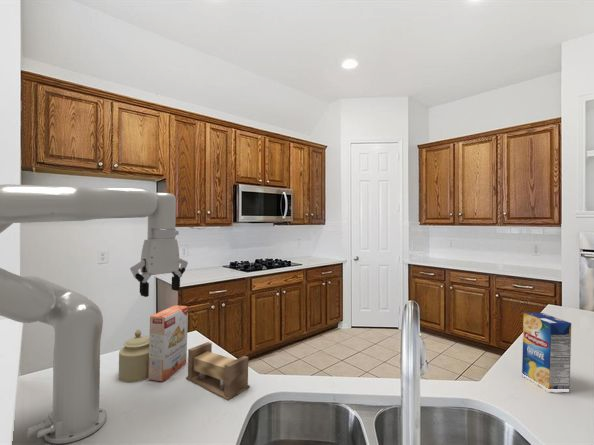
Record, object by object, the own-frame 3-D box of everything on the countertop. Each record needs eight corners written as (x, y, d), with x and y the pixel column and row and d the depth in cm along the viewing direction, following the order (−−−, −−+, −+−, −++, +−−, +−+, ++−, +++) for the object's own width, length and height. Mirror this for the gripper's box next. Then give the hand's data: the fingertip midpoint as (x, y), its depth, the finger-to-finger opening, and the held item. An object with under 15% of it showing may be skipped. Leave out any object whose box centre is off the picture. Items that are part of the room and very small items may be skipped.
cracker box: (164, 382, 99) (165, 317, 99) (147, 380, 100) (148, 315, 100) (187, 363, 113) (189, 305, 113) (172, 361, 114) (174, 304, 114)
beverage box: (549, 393, 98) (550, 323, 97) (521, 375, 109) (523, 312, 108) (569, 393, 98) (571, 323, 98) (540, 375, 109) (542, 312, 109)
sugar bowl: (129, 362, 113) (130, 320, 113) (162, 360, 115) (162, 319, 115) (112, 383, 98) (113, 336, 98) (150, 381, 100) (150, 334, 100)
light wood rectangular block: (193, 370, 100) (193, 357, 100) (207, 363, 106) (207, 351, 106) (226, 382, 94) (227, 368, 94) (239, 373, 99) (240, 361, 99)
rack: (227, 400, 90) (228, 367, 90) (185, 378, 102) (186, 349, 102) (249, 387, 97) (250, 356, 97) (208, 368, 109) (208, 341, 109)
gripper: (180, 233, 101) (179, 286, 101) (125, 235, 87) (124, 296, 87) (194, 234, 97) (193, 289, 97) (138, 236, 83) (137, 301, 83)
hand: (160, 293), depth 92 cm, fingers open, 9 cm apart
